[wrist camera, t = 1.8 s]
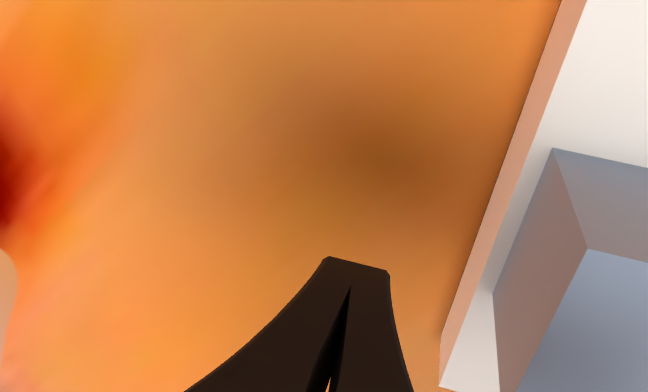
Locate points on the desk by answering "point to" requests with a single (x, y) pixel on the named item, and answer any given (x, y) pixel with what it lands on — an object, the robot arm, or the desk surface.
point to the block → (577, 282)
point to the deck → (532, 153)
